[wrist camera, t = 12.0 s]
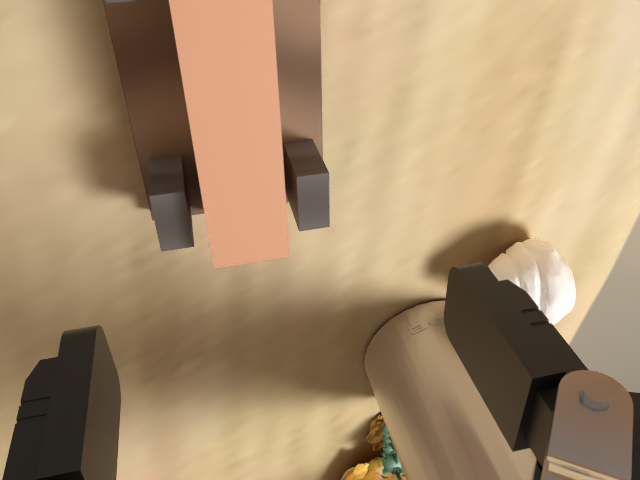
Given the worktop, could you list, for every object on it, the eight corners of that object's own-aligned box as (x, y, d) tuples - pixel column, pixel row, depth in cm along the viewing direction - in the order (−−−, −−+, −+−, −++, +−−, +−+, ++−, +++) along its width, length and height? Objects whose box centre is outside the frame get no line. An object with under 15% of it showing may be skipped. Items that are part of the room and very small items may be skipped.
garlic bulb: (451, 236, 37) (491, 292, 33) (540, 220, 38) (589, 273, 34) (444, 301, 40) (479, 360, 36) (525, 285, 41) (569, 340, 37)
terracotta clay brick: (241, -167, 22) (261, -162, 18) (272, 200, 31) (289, 256, 27) (144, -164, 21) (142, -158, 17) (206, 209, 31) (213, 268, 27)
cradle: (319, 187, 33) (339, 233, 29) (152, 210, 31) (152, 261, 28) (312, -133, 24) (340, -124, 20) (78, -124, 22) (64, -112, 19)
